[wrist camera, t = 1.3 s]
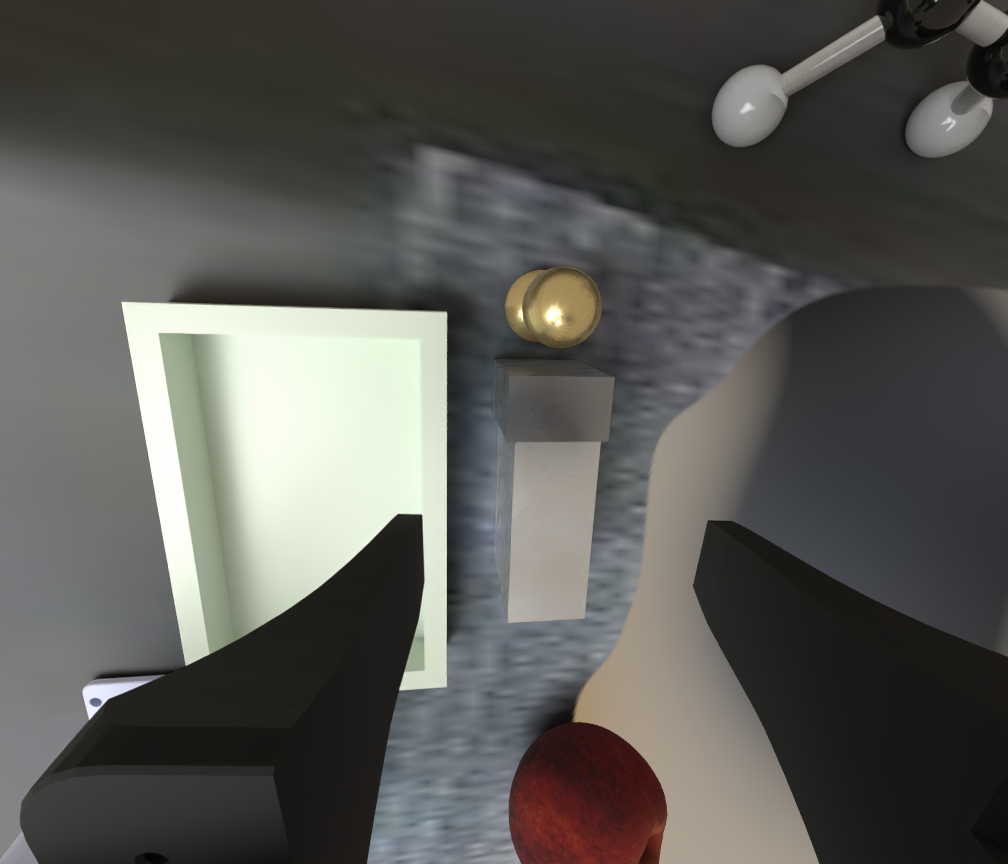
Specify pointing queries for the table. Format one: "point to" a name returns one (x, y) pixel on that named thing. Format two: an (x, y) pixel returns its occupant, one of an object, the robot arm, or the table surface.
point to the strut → (547, 482)
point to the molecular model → (904, 25)
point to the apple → (585, 800)
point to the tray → (291, 456)
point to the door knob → (554, 306)
